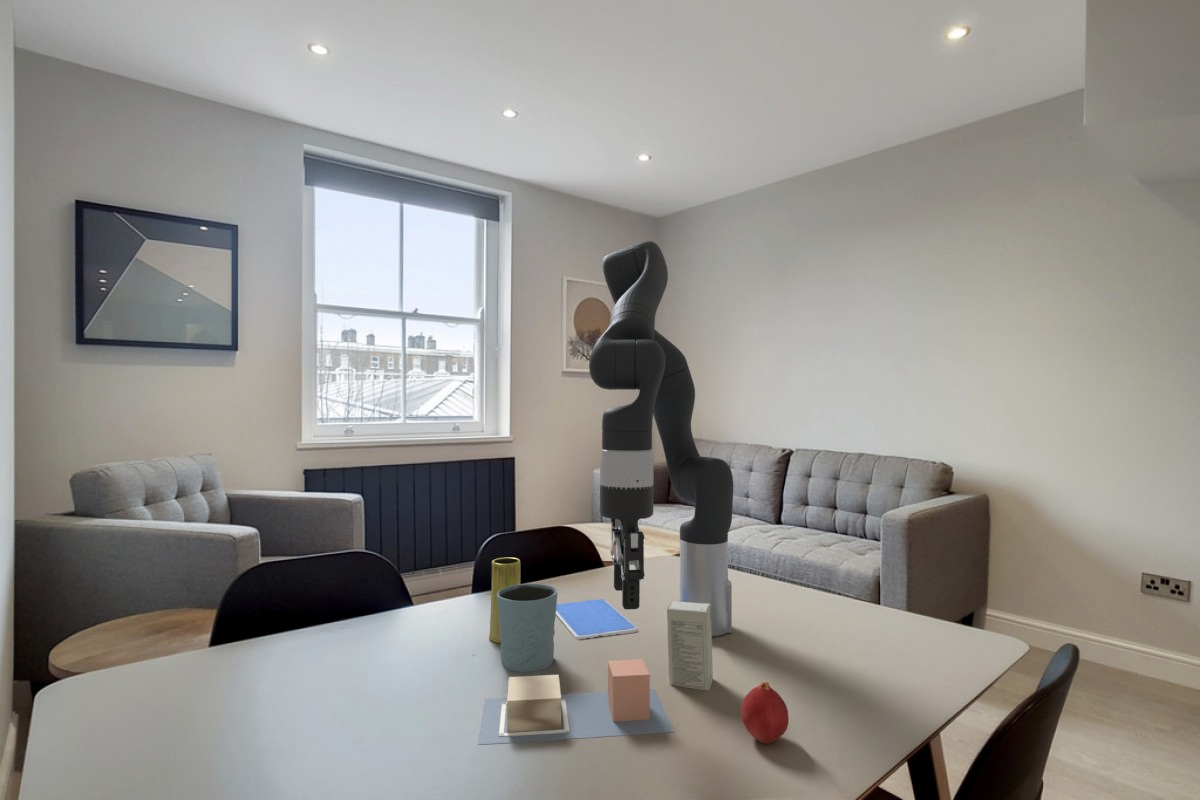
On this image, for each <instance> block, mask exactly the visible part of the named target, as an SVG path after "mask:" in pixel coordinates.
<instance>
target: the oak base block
mask: <svg viewBox="0 0 1200 800" xmlns="http://www.w3.org/2000/svg"><path fill="white" fill-rule="evenodd" d="M559 676H560V675H559V674H546V675H525V676H524V675H522V676H509V677H508V683H507V685H508V686H507V697H506V698H507V732H518V731H534V730H550V729H561V694H562V693H561V684H560V677H559Z"/></svg>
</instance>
